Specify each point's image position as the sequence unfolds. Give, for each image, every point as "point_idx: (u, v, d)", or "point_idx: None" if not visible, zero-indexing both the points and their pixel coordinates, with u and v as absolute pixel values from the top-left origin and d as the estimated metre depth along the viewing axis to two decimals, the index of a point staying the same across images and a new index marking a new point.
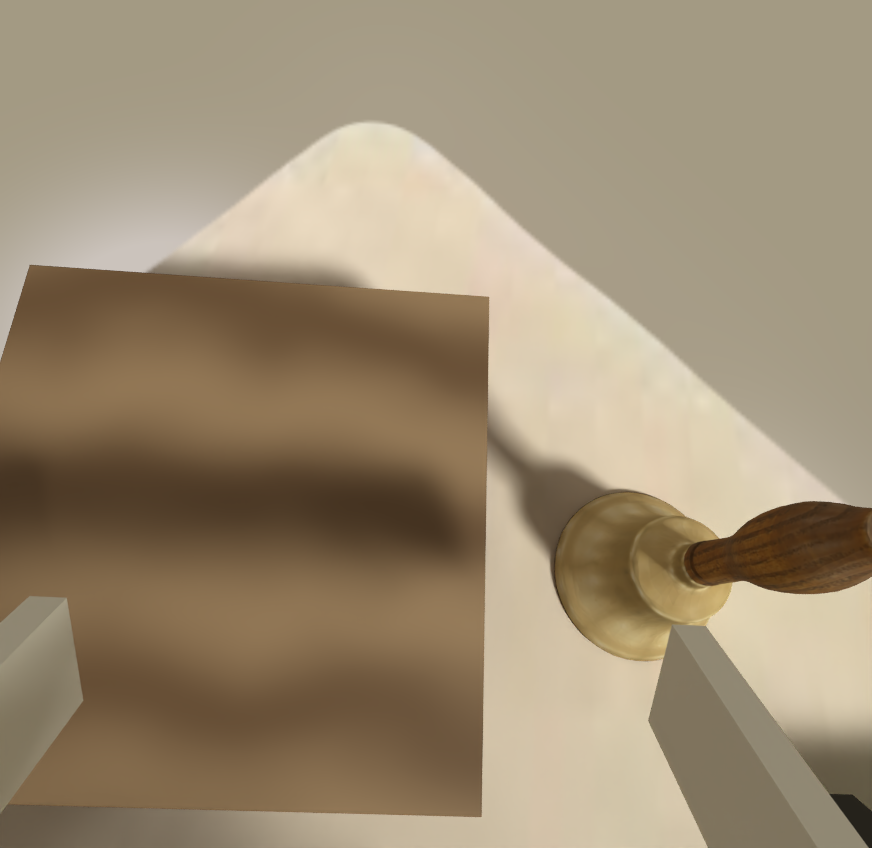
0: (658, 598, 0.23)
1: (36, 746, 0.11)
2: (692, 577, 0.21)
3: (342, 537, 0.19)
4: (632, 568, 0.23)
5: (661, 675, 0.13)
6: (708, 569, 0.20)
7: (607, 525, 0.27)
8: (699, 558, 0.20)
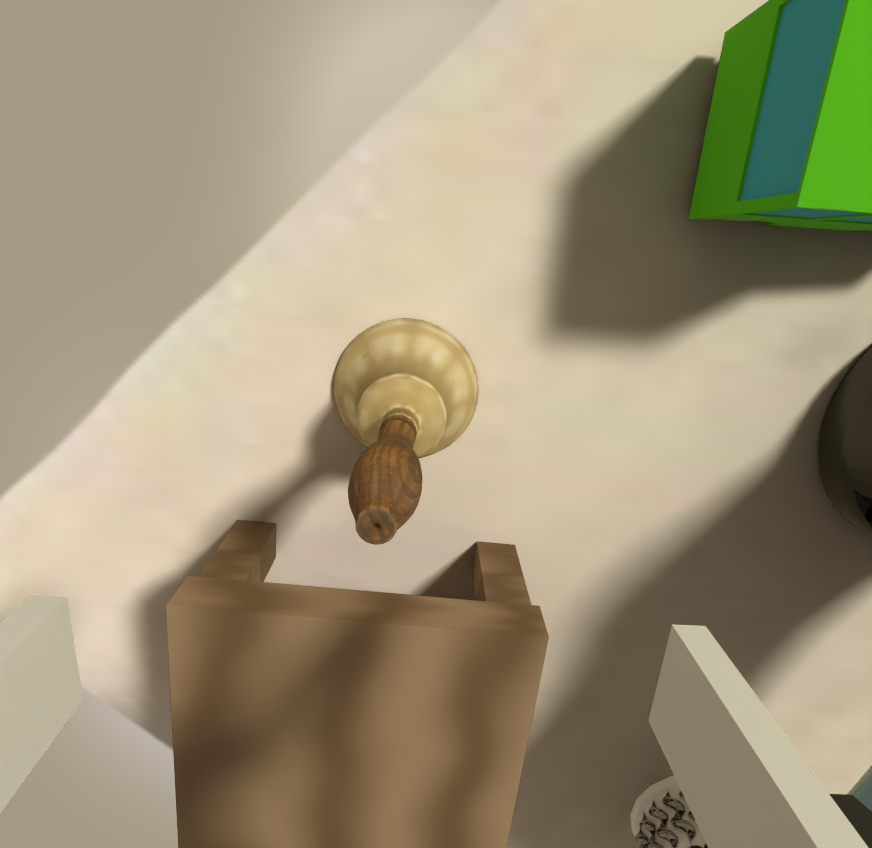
0: (425, 447, 0.27)
1: (36, 746, 0.11)
2: None
3: (370, 706, 0.28)
4: None
5: (661, 675, 0.13)
6: None
7: None
8: None
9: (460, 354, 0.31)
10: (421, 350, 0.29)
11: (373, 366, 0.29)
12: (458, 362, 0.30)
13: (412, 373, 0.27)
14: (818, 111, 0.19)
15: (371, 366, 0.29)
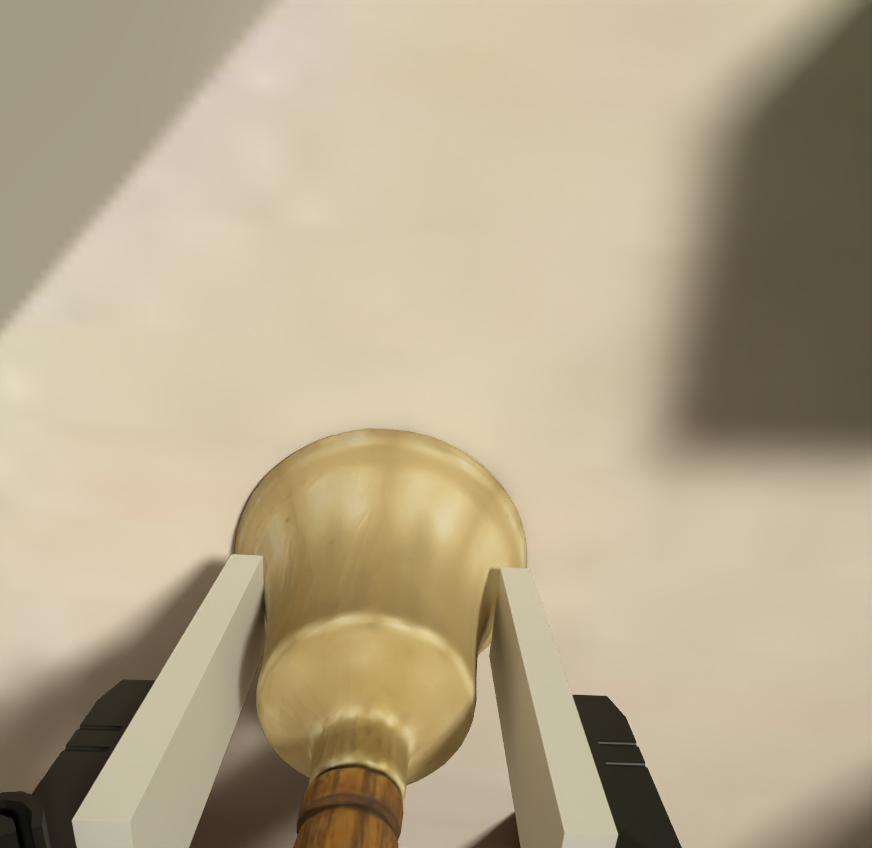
0: (426, 770, 0.11)
1: (247, 678, 0.13)
2: None
3: None
4: None
5: (496, 613, 0.14)
6: None
7: None
8: None
9: (491, 500, 0.15)
10: (409, 509, 0.13)
11: (302, 558, 0.13)
12: (488, 518, 0.14)
13: (388, 603, 0.11)
14: None
15: (297, 554, 0.13)
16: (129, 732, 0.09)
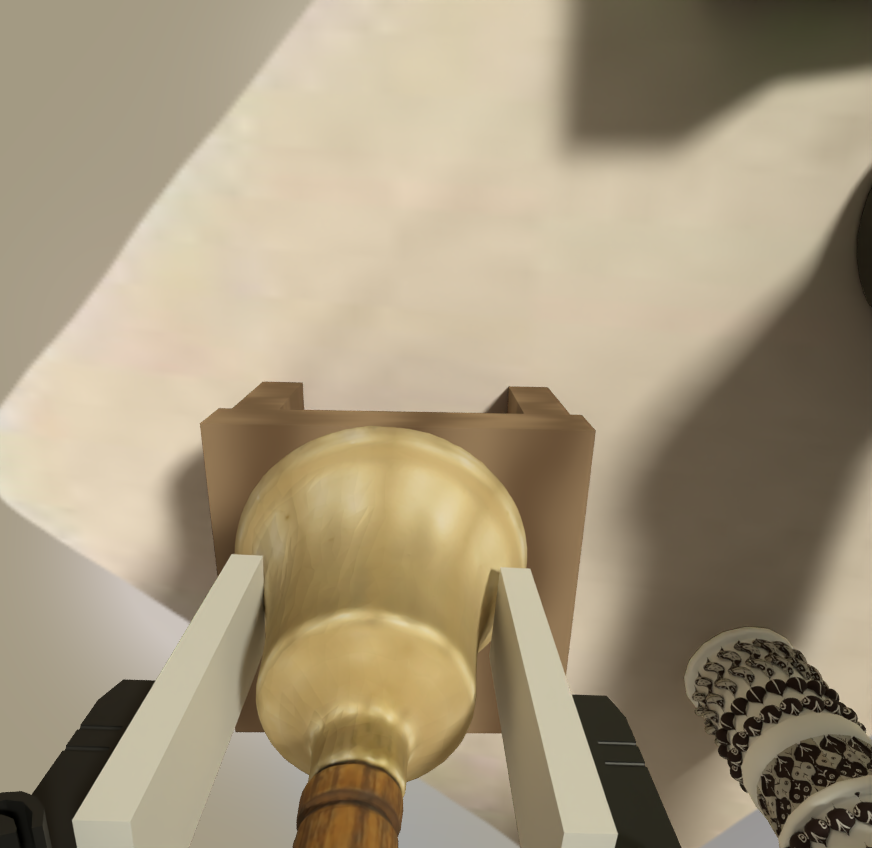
0: (427, 767, 0.11)
1: (248, 678, 0.13)
2: None
3: None
4: None
5: (496, 613, 0.14)
6: None
7: None
8: None
9: (491, 497, 0.15)
10: (409, 507, 0.13)
11: (302, 555, 0.13)
12: (488, 516, 0.14)
13: (388, 599, 0.11)
14: None
15: (298, 551, 0.13)
16: (129, 732, 0.09)
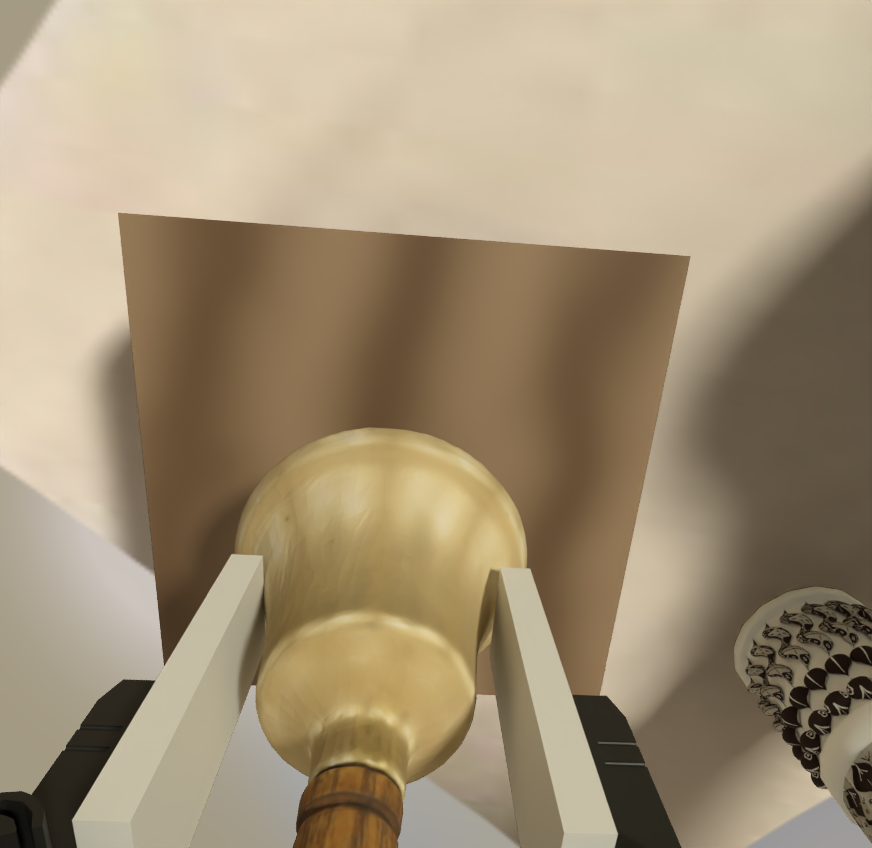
0: (427, 769, 0.11)
1: (248, 678, 0.13)
2: None
3: (426, 390, 0.19)
4: None
5: (496, 613, 0.14)
6: None
7: None
8: None
9: (491, 498, 0.15)
10: (409, 508, 0.13)
11: (302, 557, 0.13)
12: (488, 517, 0.14)
13: (388, 601, 0.11)
14: None
15: (297, 553, 0.13)
16: (129, 732, 0.09)
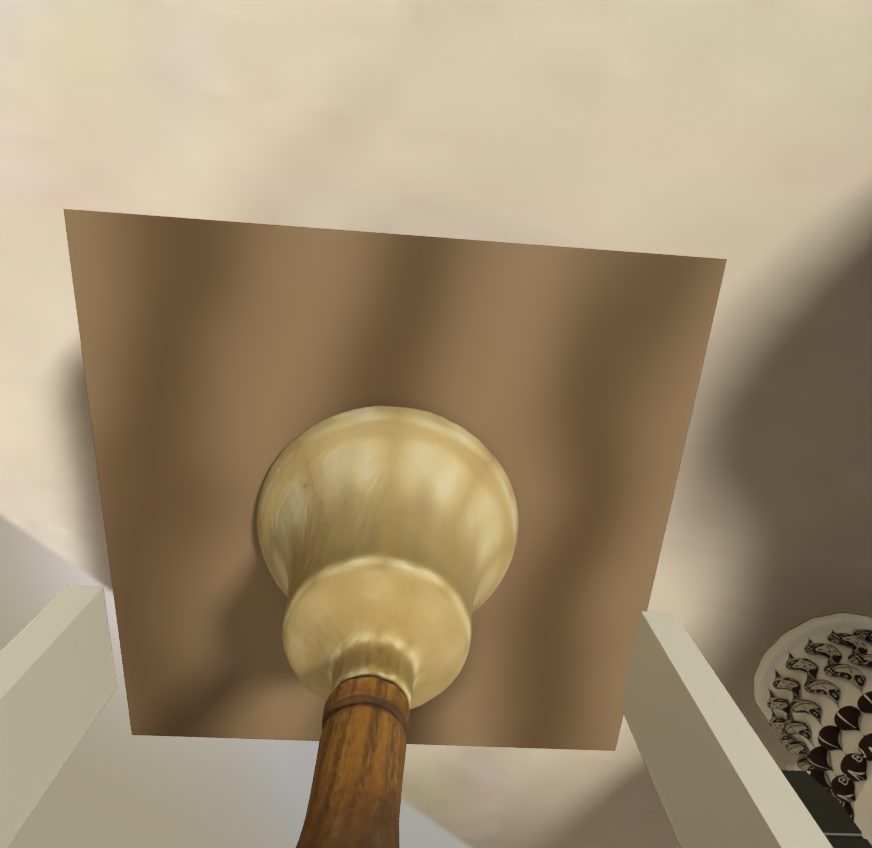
0: (429, 694, 0.13)
1: (76, 728, 0.11)
2: None
3: None
4: None
5: (632, 661, 0.13)
6: None
7: None
8: None
9: (486, 468, 0.16)
10: (412, 475, 0.15)
11: (319, 516, 0.14)
12: (483, 485, 0.16)
13: (395, 548, 0.13)
14: None
15: (315, 513, 0.15)
16: None
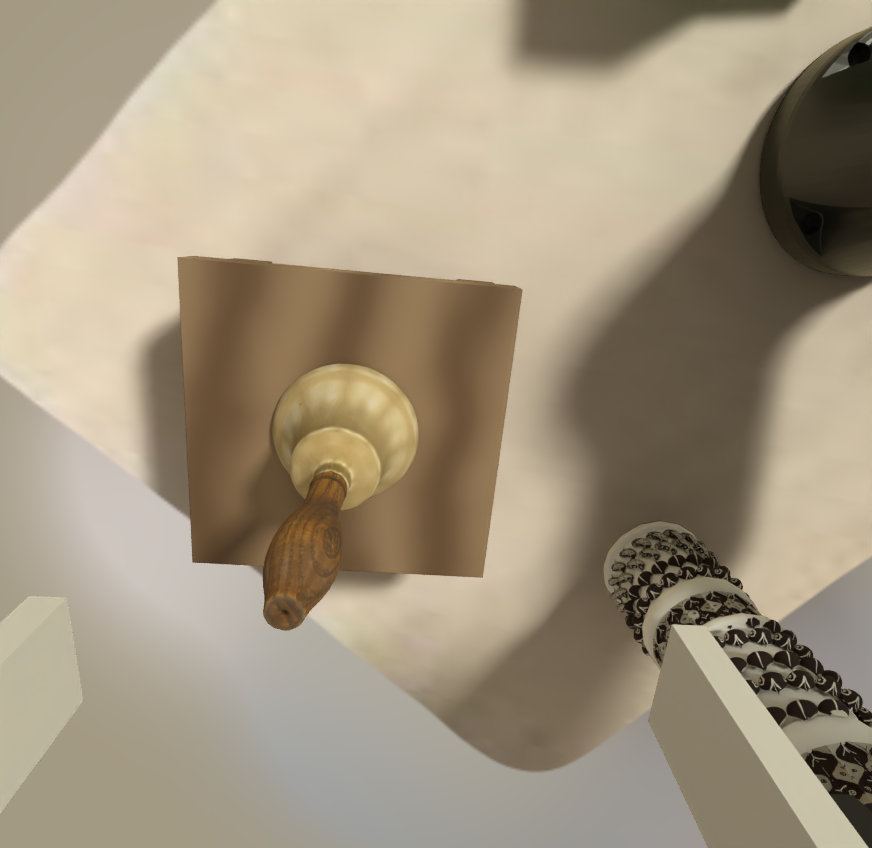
0: (360, 498, 0.27)
1: (36, 745, 0.11)
2: None
3: None
4: None
5: (661, 675, 0.13)
6: None
7: None
8: None
9: (398, 398, 0.31)
10: (356, 397, 0.29)
11: (308, 416, 0.28)
12: (395, 406, 0.30)
13: (344, 425, 0.27)
14: None
15: (305, 415, 0.29)
16: None
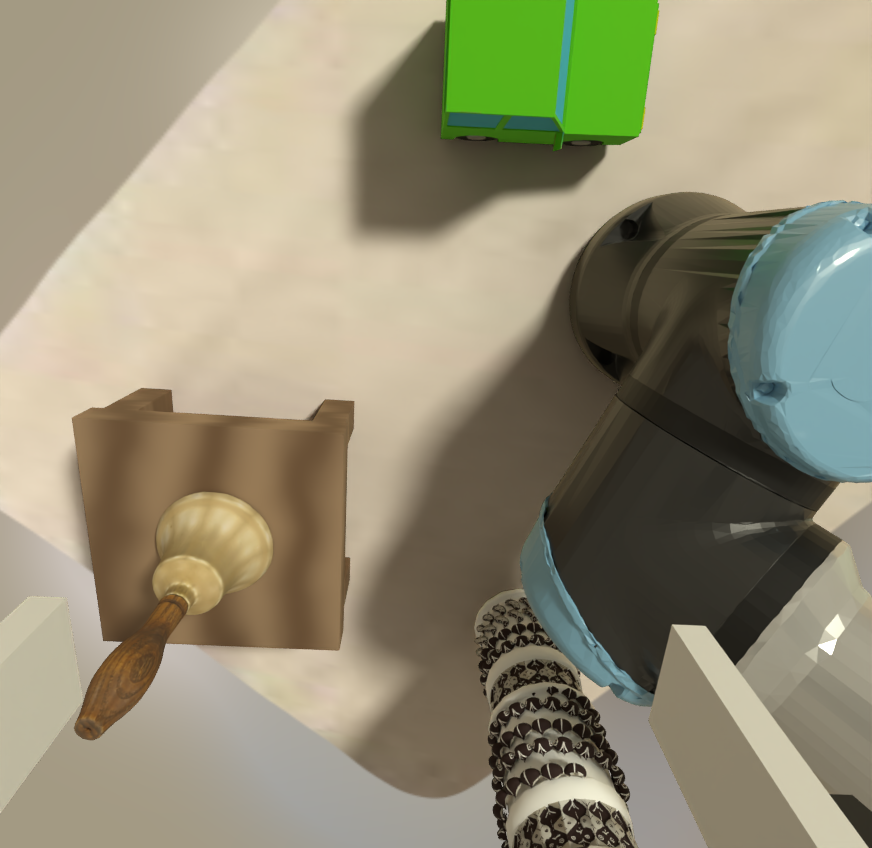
0: (207, 606, 0.35)
1: (36, 746, 0.11)
2: (182, 617, 0.33)
3: (225, 493, 0.39)
4: None
5: (662, 675, 0.13)
6: None
7: None
8: None
9: (250, 518, 0.39)
10: (212, 522, 0.37)
11: (172, 540, 0.37)
12: (248, 525, 0.38)
13: (192, 552, 0.35)
14: (448, 48, 0.30)
15: (171, 538, 0.37)
16: None
